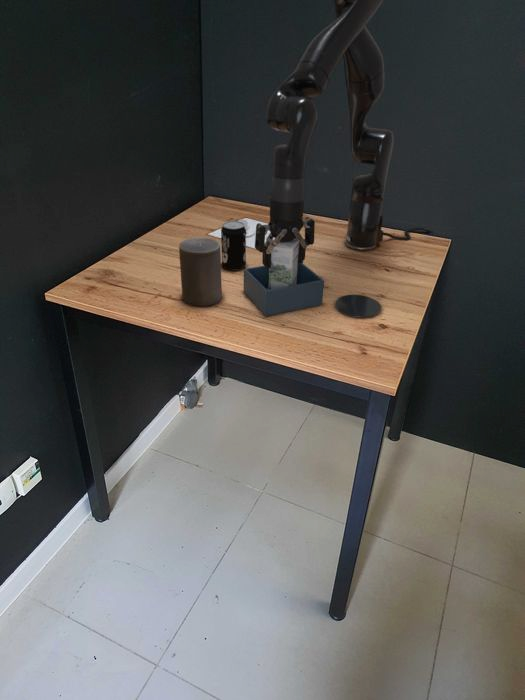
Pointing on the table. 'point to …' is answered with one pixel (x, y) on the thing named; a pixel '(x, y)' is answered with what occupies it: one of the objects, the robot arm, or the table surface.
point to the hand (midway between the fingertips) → (283, 264)
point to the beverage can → (233, 245)
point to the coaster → (358, 306)
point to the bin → (283, 290)
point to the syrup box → (284, 264)
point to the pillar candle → (200, 271)
